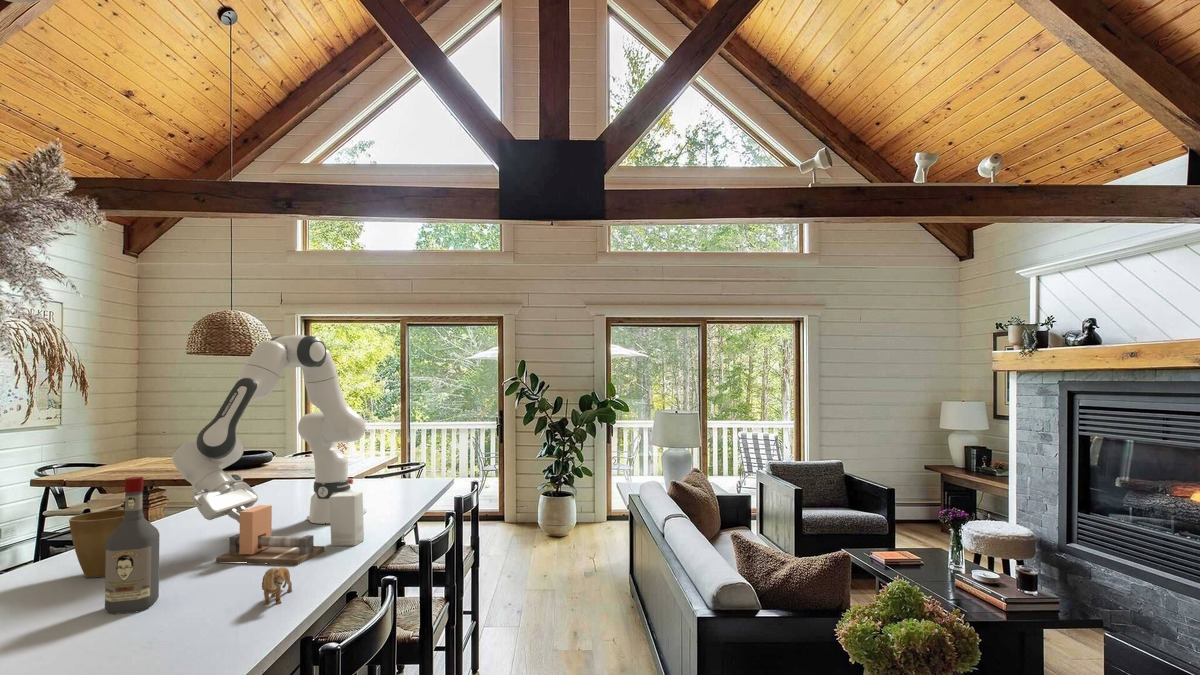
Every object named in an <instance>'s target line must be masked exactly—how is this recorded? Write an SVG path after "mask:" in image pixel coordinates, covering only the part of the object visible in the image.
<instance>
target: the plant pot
mask: <svg viewBox="0 0 1200 675" xmlns="http://www.w3.org/2000/svg"><path fill="white" fill-rule="evenodd" d="M124 515H125V509H112V510H111V509H110V510H101V511H93V512H92V511H91V512H87V513H82V514H77V515H74V516H71V517H70V518H69V519H68V522H69V530H70V535H71V539H72V544H73V549H74V552H75V555H76V558H77V560H78V562H79V566H80V568H81V571H82V572H83V574H84V577H86V578H90V579H91V578H102V577H104V578H105V565H106V541H107V539H108V537H109V536H110V535H111V534H112V532H113V531H114V530H115V529H116V528H117V527H118V526H119V525H120V524H121V523H122V521H123V517H124Z"/></svg>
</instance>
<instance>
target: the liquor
mask: <svg viewBox="0 0 1200 675" xmlns="http://www.w3.org/2000/svg"><path fill="white" fill-rule="evenodd" d="M143 491H144V476H133V477H132V476H131V477H127V478H125V479H124V493H125V497H124V498H125V499H124V500H125V501H124V510H125V515H124V517H123V521H122V523H121V524H120V525H119V526H118V527H117V528H116V529H115V530H114V531H113V532H112V534H111V535H110V536H109V537H108V539H107V541H106V565H105V576H104V583H105V584H104V609H105V611H106V613H108V614H112V615H117V613H121V614H127V613H126V612H131V613H137V612H136V611H138V612H141V610H142V611H145V610H148V609H150V608H151V607H152V606H153V605H154V604H155V603H157V601H158V599H159V596H160V594H159V593H160V589H159V588H160V531H159V530H158V529H157V527H155V526H154V524H152V523H151V522H150V521H148V520H147V519H146V518H145V514H144V511H143V509H144V508H143ZM149 607H150V608H149ZM144 609H145V610H144Z"/></svg>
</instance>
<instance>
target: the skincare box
mask: <svg viewBox="0 0 1200 675" xmlns="http://www.w3.org/2000/svg"><path fill="white" fill-rule="evenodd" d="M363 495H364V494H363V492H362V491H358V492H357V491H355V492H354V491H353V492H345V493H337V494H335V495H333V496H331V497H330V523H329V524H330V546H331V547H333V546H337V547H339V546H340V547H341V546H343V547H344V546H346V547H347V546H349V547H350V546H353V547H355V546H358V545H359V544H360V543H362V542H364V540H365V533H364V532H365V531H364V525H365V524H364V514H363V508H364V501H363V500H364V498H363V497H364V496H363Z"/></svg>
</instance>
